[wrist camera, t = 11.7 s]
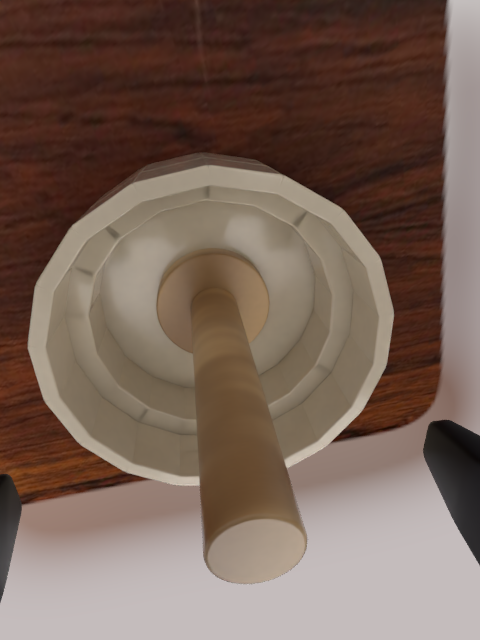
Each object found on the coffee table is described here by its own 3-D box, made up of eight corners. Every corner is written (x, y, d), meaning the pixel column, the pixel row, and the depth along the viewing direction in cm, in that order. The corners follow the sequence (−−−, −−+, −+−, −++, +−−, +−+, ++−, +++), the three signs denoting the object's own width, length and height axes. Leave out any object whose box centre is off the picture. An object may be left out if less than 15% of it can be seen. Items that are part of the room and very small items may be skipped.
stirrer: (265, 243, 16) (398, 438, 6) (266, 342, 18) (367, 608, 8) (150, 251, 15) (99, 474, 6) (164, 352, 17) (143, 645, 8)
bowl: (348, 143, 15) (418, 154, 11) (329, 390, 20) (372, 467, 16) (39, 158, 14) (-27, 177, 10) (100, 415, 19) (75, 506, 15)
